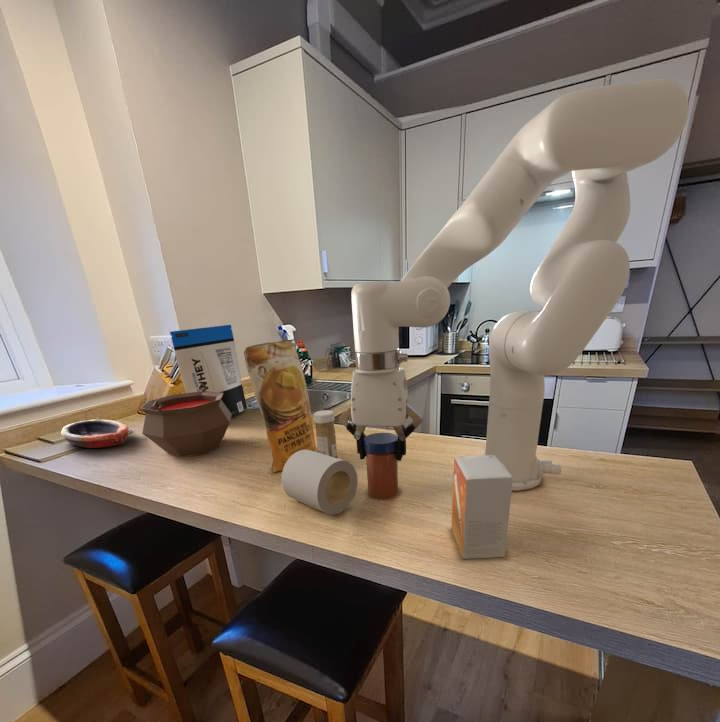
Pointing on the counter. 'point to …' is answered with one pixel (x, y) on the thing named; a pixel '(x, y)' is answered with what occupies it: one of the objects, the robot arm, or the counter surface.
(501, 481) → the small box
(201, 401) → the brown faceted pot
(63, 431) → the dish
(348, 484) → the toilet paper
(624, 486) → the counter surface
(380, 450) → the lid
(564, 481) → the counter surface
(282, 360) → the pancake mix bag
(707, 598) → the counter surface
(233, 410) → the protein powder
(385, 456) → the jar
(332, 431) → the sprinkles bottle
